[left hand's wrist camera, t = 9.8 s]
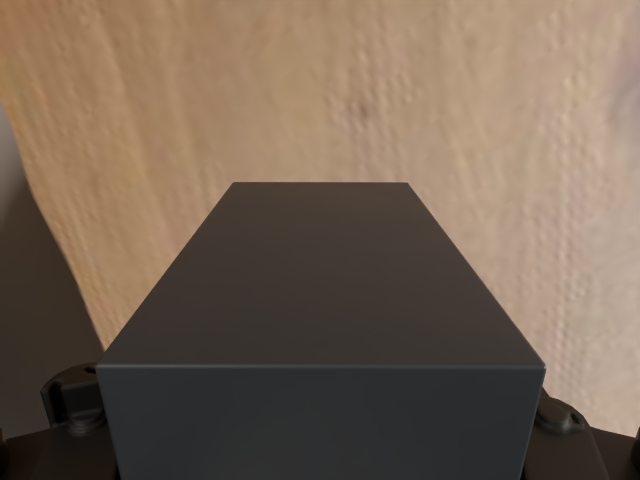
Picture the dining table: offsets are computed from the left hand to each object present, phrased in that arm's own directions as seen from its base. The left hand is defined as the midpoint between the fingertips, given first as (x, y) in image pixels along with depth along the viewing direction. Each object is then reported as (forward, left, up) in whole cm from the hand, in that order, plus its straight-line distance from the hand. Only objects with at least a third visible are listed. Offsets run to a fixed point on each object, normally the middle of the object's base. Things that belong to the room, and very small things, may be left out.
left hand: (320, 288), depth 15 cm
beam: (+8, 0, 0) cm, 8 cm away
